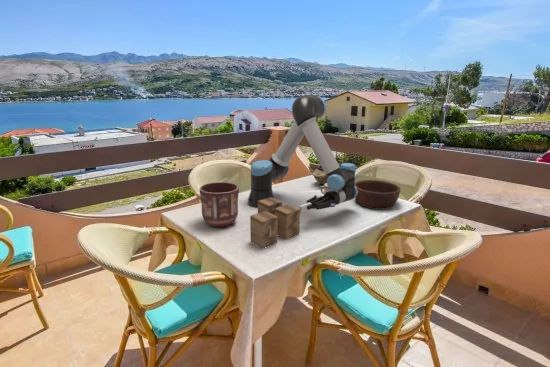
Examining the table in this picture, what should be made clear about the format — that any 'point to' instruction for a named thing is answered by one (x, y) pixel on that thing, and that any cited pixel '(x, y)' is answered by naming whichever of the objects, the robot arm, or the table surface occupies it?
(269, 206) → the walnut block marked 2
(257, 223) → the walnut block marked 1
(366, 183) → the wooden bowl
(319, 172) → the ceramic bowl
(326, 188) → the teacup with lid
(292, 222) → the brown wooden block
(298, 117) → the robot arm
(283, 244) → the table surface
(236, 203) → the pottery
